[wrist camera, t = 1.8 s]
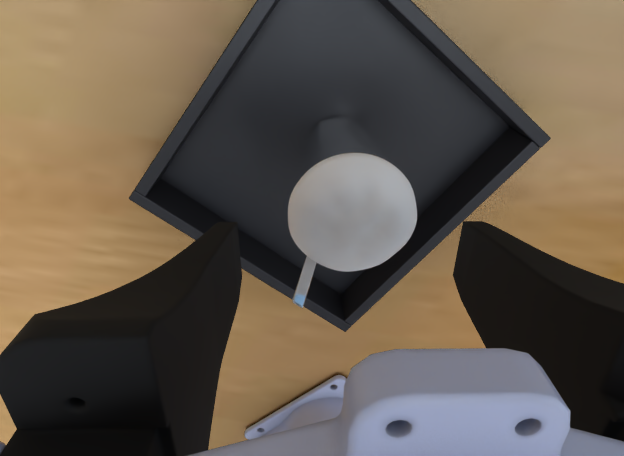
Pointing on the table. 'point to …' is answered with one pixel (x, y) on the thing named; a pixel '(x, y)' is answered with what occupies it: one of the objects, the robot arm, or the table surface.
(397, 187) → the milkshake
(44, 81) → the table surface
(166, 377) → the robot arm
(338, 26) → the pan
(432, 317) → the table surface
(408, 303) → the table surface
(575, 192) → the table surface
